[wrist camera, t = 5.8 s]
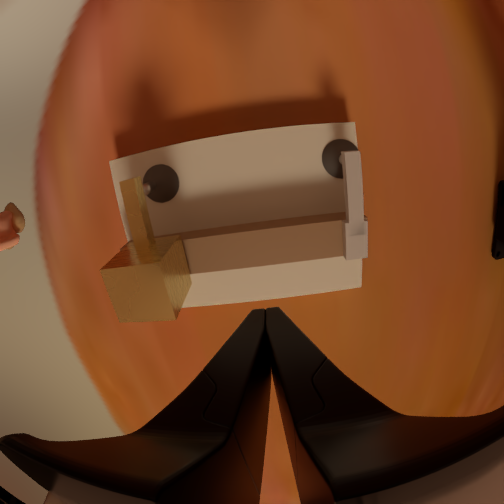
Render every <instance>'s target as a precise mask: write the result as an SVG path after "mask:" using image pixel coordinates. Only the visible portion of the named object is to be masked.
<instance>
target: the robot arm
mask: <svg viewBox="0 0 504 504" xmlns="http://www.w3.org/2000/svg"><path fill="white" fill-rule="evenodd" d="M492 257H493V258H495V259H496V260H498V259H502V258H504V180H502V181H500V183H499V191H498V207H497V218H496V227H495V235H494V243H493V249H492ZM271 369H272V376H273V381H274V386H275V390H276V395H277V399H278V404H279V408H280V413H281V417H282V422H283V426H284V431H285V435H286V440H287V444H288V449H289V453H290V458H291V462H292V467H293V471H294V476H295V480H296V484H297V489H298V492H299V498H300V502H301V504H504V406H502V407H500V408H498V409H496V410H494V411H492V412H489V413H486V414H482V415H477V416H469V417H424V416H408V415H403V414H401V413H398V412H396V411H394V410H392V409H390V408H389V407H387V406H386V405H385V404H383V403H382V402H380V401H379V400H378V399H376V398H375V397H374V396H372V395H371V394H369V393H368V392H367V391H365V390H364V389H363V388H361V387H360V386H359V385H357V384H356V383H355V382H353V381H352V380H351V379H350V378H348V377H347V376H346V375H345V374H344V373H343V372H342V371H340V370H339V369H338V368H337V367H336V366H335V365H334V364H333V363H332V362H331V361H330V360H329V359H328V358H327V357H326V356H325V355H324V354H323V353H322V352H321V351H320V350H319V348H318V347H317V346H316V345H315V344H314V343H313V342H312V341H311V340H310V339H309V338H308V337H307V336H306V335H305V334H304V333H303V332H302V331H301V330H300V329H299V328H298V327H297V326H296V325H295V324H294V323H293V322H292V321H291V319H290V318H289V317H288V316H287V315H286V314H285V313H284V312H283V311H282V310H281V309H280V308H279V307H272V308H267V309H266V310H265V309H254V310H252V311H251V312H250V313H249V314H248V316H247V317H246V318H245V319H244V321H243V322H242V323H241V324H240V326H239V327H238V328H237V329H236V330H235V332H234V333H233V334H232V335H231V336H230V338H229V339H228V340H227V341H226V343H225V344H224V345H223V346H222V347H221V349H220V350H219V351H218V352H217V353H216V355H215V356H214V357H213V358H212V359H211V360H210V362H209V363H208V364H207V365H206V366H205V368H204V369H203V371H201V372H200V373H199V374H198V376H197V377H196V378H195V379H194V380H193V381H192V382H191V383H190V384H189V386H188V387H187V388H186V389H185V390H184V391H183V392H182V393H181V394H179V395H178V396H177V397H176V398H175V399H174V400H173V401H172V402H171V403H170V404H169V405H167V406H166V407H165V408H164V409H163V410H162V411H161V412H159V413H158V414H157V415H156V416H155V417H154V418H152V419H151V420H150V421H149V422H148V423H147V424H145V425H144V426H143V427H142V428H140V429H138V430H137V431H135V432H133V433H131V434H127V435H123V436H117V437H109V438H102V439H92V440H80V441H47V440H42V439H39V438H36V437H34V436H31V435H29V434H25V433H19V434H10V435H6V436H3V437H1V438H0V450H1V451H2V453H3V454H4V455H5V456H6V457H7V458H8V459H10V460H11V461H12V462H13V463H14V464H15V465H16V466H17V467H19V468H20V469H21V470H22V471H23V472H25V473H26V474H27V475H28V476H29V477H31V478H32V479H33V480H34V481H36V482H37V483H38V484H39V485H41V486H42V487H43V488H45V489H46V490H48V494H47V496H46V499H45V501H44V504H259V501H260V492H261V483H262V474H263V465H264V455H265V445H266V435H267V424H268V413H269V401H270V389H271ZM0 504H25V503H24V502H22V501H20V500H19V499H17V498H16V497H14V496H13V495H12V494H10V493H9V492H8V491H6V490H5V489H4V488H2V487H1V486H0Z"/></svg>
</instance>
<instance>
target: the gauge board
mask: <svg viewBox="0 0 504 504" xmlns="http://www.w3.org/2000/svg"><path fill="white" fill-rule="evenodd" d="M109 163H110V168H111V173H112V178H113V183H114V188H115V192H116V197H117V201H118V205H119V209H120V214H121V218H122V222H123V225H124V229H125V233H126V237H127V240H128V243H127V244H129V243H130V242H133V238H132V234H131V231H130V227H129V223H128V219H127V215H126V211H125V207H124V202H123V198H122V193H121V189H120V184H119V182H121V181H123V180H126V179H130V178H134V177H138V176H141V180H142V184H145V183H147V182H149V181H153V182H155V183H156V190H155V191H153V192H151V193H150V194H148V195H146V196H145V199H146V204H147V208H148V212H149V217H150V221H151V225H152V229H153V233H154V237H155V238H161V237H168V236H175V235H181V239H182V244H183V248H184V252H185V256H186V261H187V265H188V269H189V273H190V277H191V281H192V285H191V287H190V289H189V291H188V294H187V296H186V298H185V301H184V303H183V305H182V308H184V307H196V306H208V305H219V304H230V303H240V302H250V301H259V300H268V299H277V298H285V297H293V296H301V295H309V294H316V293H324V292H331V291H338V290H345V289H351V288H358V287H361V283H362V258H368V221H367V217H366V216H365V215H364V206H363V184H362V169H361V156H360V151H358V147H357V138H356V129H355V122H345V123H324V124H309V125H297V126H287V127H277V128H268V129H260V130H253V131H246V132H239V133H232V134H226V135H220V136H214V137H209V138H203V139H198V140H193V141H188V142H183V143H179V144H174V145H170V146H165V147H161V148H157V149H153V150H149V151H145V152H141V153H137V154H133V155H130V156H126V157H123V158H119V159H116V160H112V161H109ZM127 244H125V245H124V246H123V247H122V248H121V249H120V251H121V250H122V249H123V248H124V247H125V246H126V245H127Z"/></svg>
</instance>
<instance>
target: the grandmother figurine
mask: <svg viewBox="0 0 504 504" xmlns="http://www.w3.org/2000/svg"><path fill="white" fill-rule="evenodd" d="M24 226H25V219H24V216H23V214H22V213H21V212H20V211H19V210H18V208H17V207H16V206H15V205H14V204H13V203H9V204H8V205H7V206H6V207H5V210H4V212H1V213H0V251H2V250H5V249H11V248H13V247H14V245H17V244H18V242H19V235H18V234H16V233H20V232H22V230H23V229H24Z"/></svg>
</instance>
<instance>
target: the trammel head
mask: <svg viewBox="0 0 504 504" xmlns="http://www.w3.org/2000/svg"><path fill="white" fill-rule="evenodd" d="M119 184H120V189H121V193H122V198H123V202H124V207H125V211H126V215H127V219H128V223H129V227H130V231H131V234H132V238H133V242H130V243H129V244H127V245H126V246H125V247H124V248H123V249H122V250H121V251H120V252H119V253H117V254H116V255H115V256H114V257H113V258H112V259H111V260H110V261H109V262H108V263H107V264H105V265H104V266H103V267H102V268H101V269H100V272H101V275H102V278H103V281H104V283H105V286H106V289H107V292H108V294H109V297H110V299H111V302H112V305H113V307H114V310H115V312H116V315H117V317H118V319H119V322H146V321H167V320H176V319H177V317H178V315H179V312H180V310H181V308H182V305H183V303H184V301H185V298H186V296H187V294H188V291H189V289H190V287H191V285H192V281H191V277H190V273H189V269H188V265H187V261H186V256H185V252H184V248H183V244H182V239H181V235H175V236H168V237H161V238H155V237H154V233H153V229H152V225H151V221H150V217H149V212H148V208H147V204H146V199H145V196H146V195H148V194H150V193H151V192H153V191H155V190H156V183H155V182H153V181H149V182H147V183H145V184H142V180H141V176H138V177H134V178H130V179H126V180H123V181H121V182H119Z"/></svg>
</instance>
